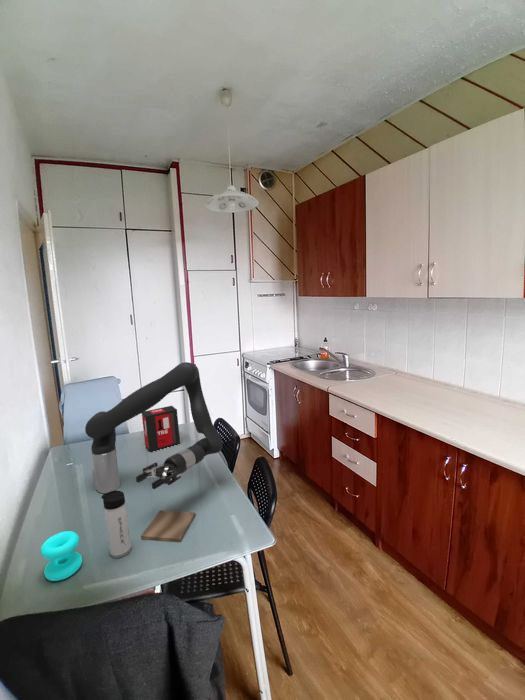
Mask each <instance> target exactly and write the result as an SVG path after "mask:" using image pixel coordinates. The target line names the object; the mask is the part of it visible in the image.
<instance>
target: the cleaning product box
mask: <svg viewBox="0 0 525 700" xmlns="http://www.w3.org/2000/svg"><path fill="white" fill-rule="evenodd" d="M141 418H142V427H143V436H144V437H143V438H144V445H145V446H146V447H145V446H144V447H145V448H146V450H147V449H148V450H147V452H151V453H154V452H153V451H155V452H158V451H157V450H159V451H161V450H160V449H162V450H165V449H164V448H166V449H168V448H167V447H169V448H172V447H171V446H173V447H175V446H174V445H177V446H179V445H178V444H180V445H181V441H180V439H181V438H180V429H179V416H178V409H177V408H176V407H174V406H173V405H168V406H164V407H158V408H155V409H148V410H146V411H144V412H143V413H141Z"/></svg>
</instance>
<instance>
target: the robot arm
mask: <svg viewBox="0 0 525 700" xmlns="http://www.w3.org/2000/svg"><path fill="white" fill-rule="evenodd" d="M181 387H184V388H185V390H186V392H187V396H188V398H189V399H188V400H189V406H190V412H191V413H190V414H191V418H192V420H193V423H194V427H195V430H196V432H197V433H198V434H202V435H203V436H204V437H203V438H201V439H199V440H198V441H196V442H195V443H194V444H192V445H190V446H189V447H187V448H185V449H182V450H180V451H178V452H176V453H174V454H172V455H171V456H168V457H167V458H166V459H165V460H164V463H162V464H158V462H154V463H152V464H150V465H148V466H146V467H144V468H142V472H141V473H140V474H138V475H137V476H136V477H135V482H136V483H138V484H139V483H141V482H142V481H144V480H147V479H148V478H154V479H155V478H157V479H156V480H154V481H153V482H151V489H152V490H156V489H157V488H159V487H161V486H162V485H167V486H171V485H173V483H175V482H176V481H178V480H180V479H181V478H182V474H183V473H185V472H187V471H189V470H190V469H191V468H193V467H194V466H195V465H197V464H198V463H200V462H202V461H203V460H204V458H205V457H206V456H208V455H213V454H214V455H215V454H218V453H220V452H221V451H222V449H223V439H222V437H221V435H220V433H219V432H218V430H217V429H216V427H215V425H214V424H213V421H212V418H211V414H210V412H209V409H208V406H207V403H206V399H205V397H204V396H205V395H204V393H203V389H202V383H201V378H200V371H199V368H198V366H197V365H196V364H194V363H192V362H185V361H184V362H181V363H179V364H178V365H176V366H175V367H173V368H172V369H170V370H169V371H168V372H167V373H165V374H164V375H163V376H161V377H159V378H157V379H155V380H153V381H151V382H150V383H147V384H146V385H143V386H142V387H140V388H139V389H137V390H135V391H134V392H132V393H130V394H128V395H127V396H126V397H125V398H123V399H122V400H121V401H120V402H119V403H117V404H116V405H115V406H114V407H113V408H111V409H109V410H108V411H98V412H97V413H94V415H93V416H91V418H89V420H87V422H86V424H85V427H84V429H85V430H84V431H85V434H86V435H87V436H88V437H89V438H90V439H92V444H91V447H90V448H91V449H90V450H91V455H92V463H93V468H92V470H91V471H92V479H93V484H94V491H95V490H97V491H96V492H98V493H99V492H100V494H106V493H108V492H110V491H117V490H118V489H119V488H120V486H121V480H120V471H119V465H118V464H119V463H118V458H117V450H116V441H117V436H116V435H117V434H116V428H117V427H119V426H120V425H122V424H123V423H125V422H127V421H130V420H131V419H134V417H137V416H139V415H140V414H141V415H142V413H143V412H144V411H149V410H150V409H151V408H152V407H154V406H156V405H157V404H158V403H159V402H161V401H162V400H163V399H165V397H166V396H167V395H170V393H172V392H174V391H176V390H178V389H180V388H181Z"/></svg>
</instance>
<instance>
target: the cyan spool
mask: <svg viewBox="0 0 525 700" xmlns="http://www.w3.org/2000/svg"><path fill="white" fill-rule="evenodd" d="M79 542H80V536H79V534H78V533H76V532H75V531H71V530H66V531H61V532H58V533H55V534H54V535H52V536H50V537H48V539H46V540H45V542H43V544H42V545H41V548H40V555H41V557H42V558H44V559H45V560H49V561H48V563H47V564H46V566H45V568H44V572H43V575H44V577H45V578H46V579H47V580H48V581H50V582H51V581H53V582H57V581H63V580H65V579H68V578H69V577H71V576H73V575H74V574H75V573H77V571H78V570H79V569H80V568H81V566H82V563H83V556H82V555H81V554H80V552H78V551H76V548H77V546H78V545H79ZM74 550H75V551H74Z"/></svg>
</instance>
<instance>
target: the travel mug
mask: <svg viewBox="0 0 525 700" xmlns="http://www.w3.org/2000/svg"><path fill="white" fill-rule="evenodd" d="M101 499H102V502H103V512H104V517H105V525H106V533H107V541H108V547H109V555H110V557H112V558H113V559H119V558H123V557H125V556H127V555H128V554H129V553H130V552H131V550H132V544H131V535H130V528H129V520H128V512H127V511H128V510H127V505H126V498H125V493H124V492H123V491H121V490H114V491H110V492H108V493H102V495H101Z"/></svg>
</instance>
